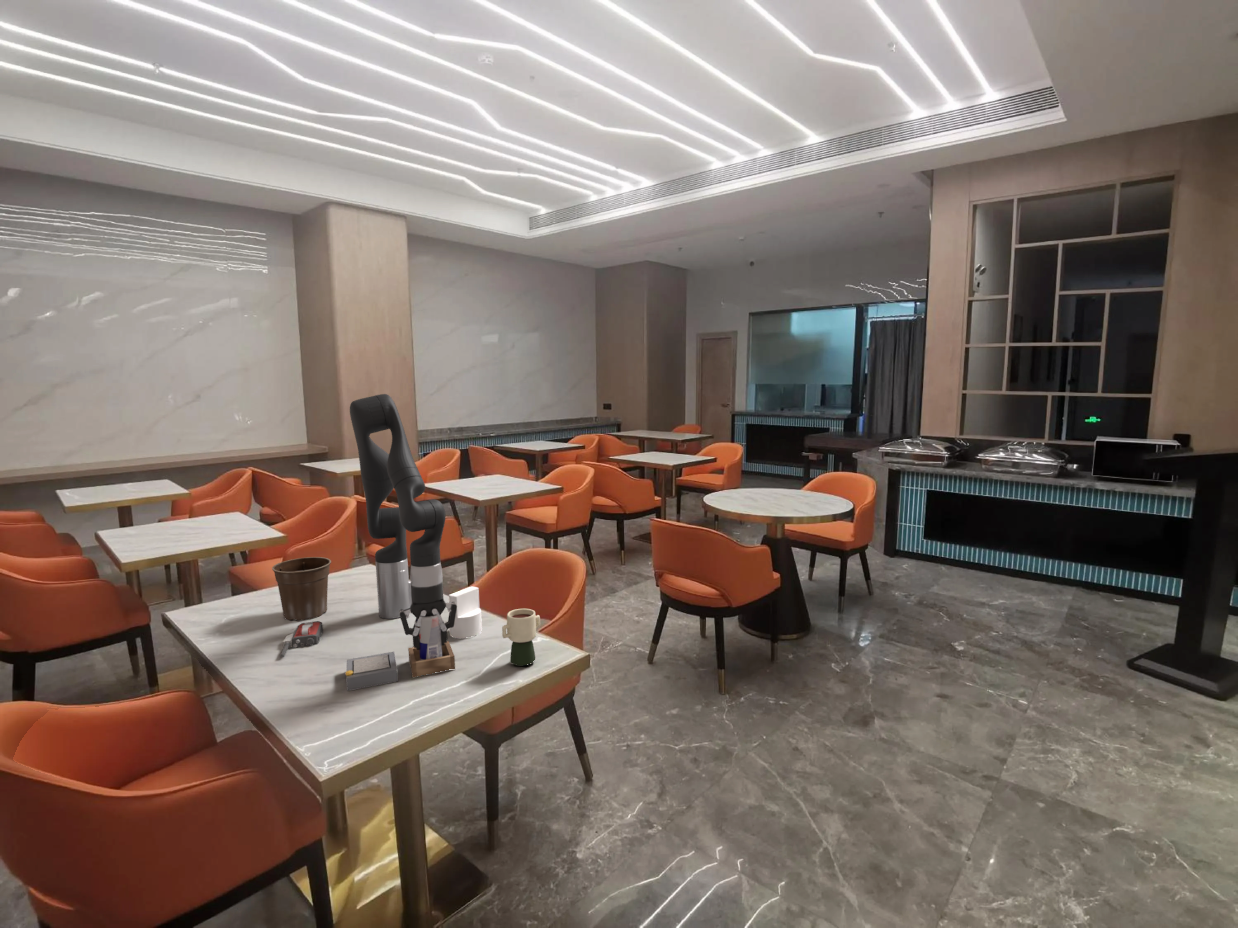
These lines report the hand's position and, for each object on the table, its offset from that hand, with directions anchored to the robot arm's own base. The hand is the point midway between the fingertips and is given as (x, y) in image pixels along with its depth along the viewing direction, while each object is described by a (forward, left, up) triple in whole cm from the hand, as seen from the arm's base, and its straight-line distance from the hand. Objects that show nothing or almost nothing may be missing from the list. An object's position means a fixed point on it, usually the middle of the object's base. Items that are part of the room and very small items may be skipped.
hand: (430, 646), depth 154 cm
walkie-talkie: (+12, -41, -6) cm, 43 cm away
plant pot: (0, -63, -5) cm, 63 cm away
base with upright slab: (-19, -10, -5) cm, 22 cm away
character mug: (-14, +18, -5) cm, 23 cm away
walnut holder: (0, 0, -5) cm, 5 cm away
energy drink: (0, 0, -4) cm, 4 cm away
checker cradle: (+12, -7, -5) cm, 15 cm away
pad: (+12, -7, -3) cm, 14 cm away
